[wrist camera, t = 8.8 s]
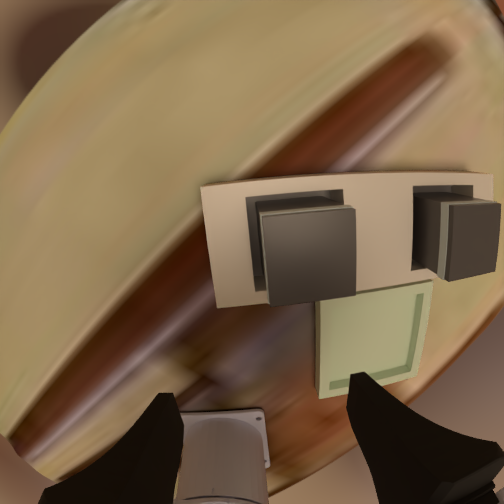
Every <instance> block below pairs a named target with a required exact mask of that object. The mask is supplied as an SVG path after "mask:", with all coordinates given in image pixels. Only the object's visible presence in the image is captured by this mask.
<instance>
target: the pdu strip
mask: <svg viewBox="0 0 504 504" xmlns="http://www.w3.org/2000/svg"><path fill="white" fill-rule="evenodd" d="M200 189H201V198H202V206H203V214H204V221H205V229H206V236H207V244H208V251H209V258H210V265H211V272H212V278H213V285H214V291H215V298H216V304H217V308H225V307H235V306H245V305H254V304H264V303H268V300H267V290H266V285H265V281H264V276H263V272H262V267H261V257H260V247H259V237H258V226H257V216H256V206H255V202H256V201H266V200H277V199H288V198H299V197H312V196H324V197H326V198H329V199H331V200H334V201H337V202H339V203H342V204H344V205H350V206H353V208H354V209H356V244H357V266H356V291H362V290H368V289H375V288H381V287H387V286H393V285H399V284H405V283H411V282H416V281H422V280H427V279H433V278H438V276H437V274H435V273H434V272H432V271H431V270H429V269H427V268H426V267H424V266H423V265H421V264H419V263H418V262H416V261H414V260H413V259H412V239H413V193H420V192H451V193H456V194H460V195H465V196H470V197H474V198H479V199H483V200H492V201H493V174H488V173H480V172H471V171H445V170H390V171H355V172H334V173H316V174H301V175H288V176H276V177H265V178H254V179H244V180H235V181H226V182H217V183H209V184H205V185H203V186H202V187H200Z"/></svg>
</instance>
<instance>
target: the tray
mask: <svg viewBox="0 0 504 504" xmlns="http://www.w3.org/2000/svg"><path fill="white" fill-rule="evenodd" d="M432 289H433V281H432V280H431V279H427V280H422V281H416V282H411V283H405V284H399V285H393V286H387V287H381V288H375V289H368V290H362V291H356V296H350V297H344V298H337V299H330V300H323V301H315V328H316V360H315V388H316V391H317V394H318V397H319V399H322V398H328V397H333V396H338V395H343V394H348V391H349V382H350V374H354V373H359V372H366V373H367V374H368V375H369V376H370V377H371V378H373V379H374V380H375V381H376V382H377V383H378V384H379V385H381V386H383V385H387V384H391V383H394V382H398V381H402V380H405V379H409V378H412V377H415V376H417V373H418V369H419V364H420V360H421V355H422V351H423V346H424V341H425V335H426V330H427V324H428V318H429V311H430V305H431V297H432Z"/></svg>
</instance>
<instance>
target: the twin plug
mask: <svg viewBox="0 0 504 504" xmlns="http://www.w3.org/2000/svg"><path fill="white" fill-rule="evenodd" d="M255 206H256V216H257V226H258V237H259V247H260V257H261V267H262V272H263V276H264V281H265V285H266V290H267V300H268V304H270V307H276V306H284V305H292V304H300V303H308V302H315V301H323V300H330V299H337V298H344V297H350V296H356V266H357V244H356V209H354V208H353V206H350V205H344V204H342V203H339V202H337V201H334V200H331V199H329V198H326V197H324V196H312V197H299V198H288V199H277V200H266V201H256V202H255Z"/></svg>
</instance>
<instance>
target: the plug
mask: <svg viewBox="0 0 504 504" xmlns="http://www.w3.org/2000/svg"><path fill="white" fill-rule="evenodd" d="M500 218H501V204H500V203H497V202H496V201H492V200H483V199H479V198H474V197H470V196H465V195H460V194H456V193H451V192H420V193H413V239H412V259H413V260H414V261H416V262H418V263H419V264H421V265H423V266H424V267H426V268H427V269H429V270H431V271H432V272H434V273H435V274H437V276H438V277H439V278H441V279H443V280H446V281H448V282H450V281H455V280H459V279H464V278H468V277H473V276H477V275H482V274H486V273H490V272H494V271H495V268H496V261H497V253H498V244H499V233H500Z"/></svg>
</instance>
